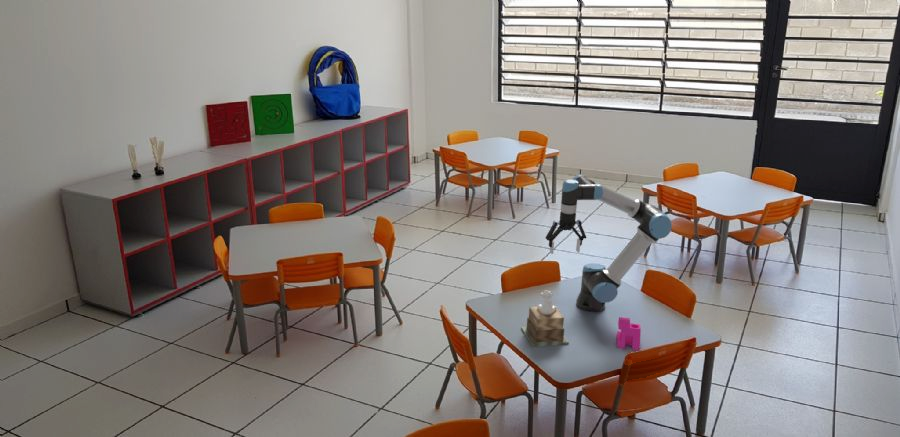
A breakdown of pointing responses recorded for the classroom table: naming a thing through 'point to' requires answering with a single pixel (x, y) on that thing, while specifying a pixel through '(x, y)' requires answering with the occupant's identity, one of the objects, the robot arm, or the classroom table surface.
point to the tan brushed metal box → (544, 328)
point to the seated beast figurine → (546, 303)
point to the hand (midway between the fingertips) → (564, 252)
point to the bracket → (628, 334)
